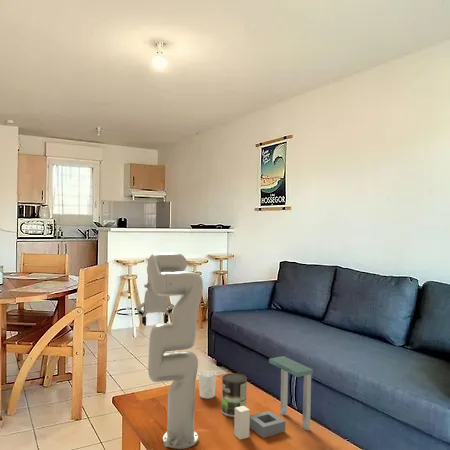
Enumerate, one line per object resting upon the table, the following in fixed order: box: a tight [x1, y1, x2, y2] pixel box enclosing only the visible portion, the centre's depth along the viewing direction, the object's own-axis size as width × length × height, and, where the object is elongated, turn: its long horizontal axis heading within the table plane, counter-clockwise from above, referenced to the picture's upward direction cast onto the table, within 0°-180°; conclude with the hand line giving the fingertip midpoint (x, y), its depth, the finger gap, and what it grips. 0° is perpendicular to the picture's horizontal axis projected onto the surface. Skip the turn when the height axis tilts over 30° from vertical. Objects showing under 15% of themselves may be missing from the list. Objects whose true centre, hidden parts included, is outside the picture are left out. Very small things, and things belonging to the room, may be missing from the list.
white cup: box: [198, 369, 217, 399], centre depth 193 cm, size 8×8×10 cm
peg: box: [233, 406, 251, 440], centre depth 157 cm, size 4×4×10 cm
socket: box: [249, 410, 286, 439], centre depth 163 cm, size 10×10×4 cm
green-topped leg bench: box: [268, 355, 314, 431], centre depth 168 cm, size 8×18×23 cm, turn 30°
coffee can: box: [221, 372, 248, 418], centre depth 177 cm, size 10×10×14 cm
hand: (155, 324), depth 195 cm, fingers open, 9 cm apart
